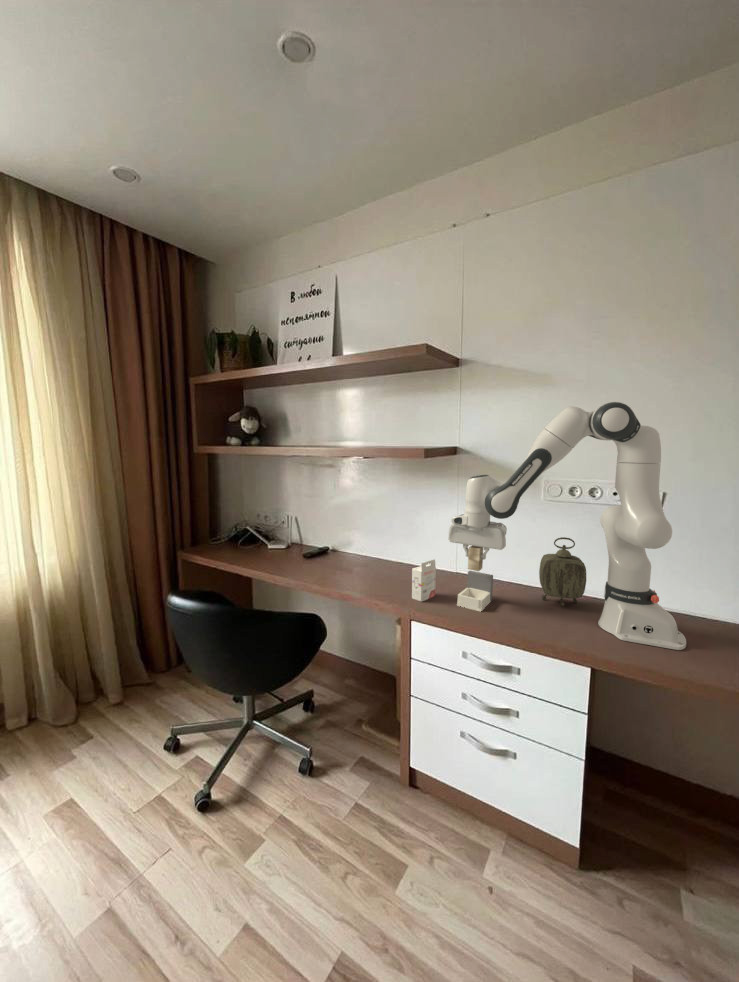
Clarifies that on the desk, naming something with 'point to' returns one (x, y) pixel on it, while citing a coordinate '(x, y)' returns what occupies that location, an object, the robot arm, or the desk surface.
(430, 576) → the ink cartridge box
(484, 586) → the post socket
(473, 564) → the rail end bracket
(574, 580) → the tabletop clock
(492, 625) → the desk surface
